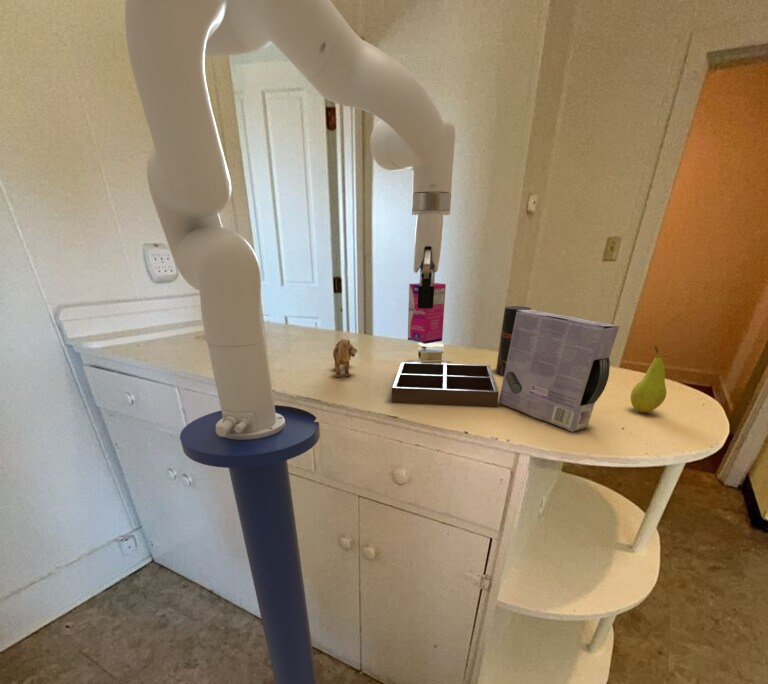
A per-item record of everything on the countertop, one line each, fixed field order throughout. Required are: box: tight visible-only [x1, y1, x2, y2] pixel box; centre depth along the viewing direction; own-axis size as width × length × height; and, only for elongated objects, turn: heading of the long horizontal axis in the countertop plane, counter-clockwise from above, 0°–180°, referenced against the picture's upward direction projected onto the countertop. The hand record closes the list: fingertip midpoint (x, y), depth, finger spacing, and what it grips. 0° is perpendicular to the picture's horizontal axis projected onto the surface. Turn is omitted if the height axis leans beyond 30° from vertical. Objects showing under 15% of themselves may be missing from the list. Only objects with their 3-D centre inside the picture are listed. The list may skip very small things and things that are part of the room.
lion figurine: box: [332, 338, 358, 378], centre depth 105 cm, size 15×5×9 cm, turn 15°
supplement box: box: [407, 282, 447, 344], centre depth 93 cm, size 6×6×12 cm
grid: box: [391, 361, 500, 408], centre depth 95 cm, size 21×21×3 cm
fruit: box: [630, 345, 667, 414], centre depth 80 cm, size 6×6×12 cm
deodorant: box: [495, 305, 532, 376], centre depth 104 cm, size 6×6×15 cm
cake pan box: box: [498, 309, 620, 433], centre depth 77 cm, size 19×5×18 cm, turn 33°
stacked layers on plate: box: [410, 342, 449, 364], centre depth 112 cm, size 10×9×6 cm
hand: (426, 304), depth 92 cm, fingers closed on supplement box, 8 cm apart
